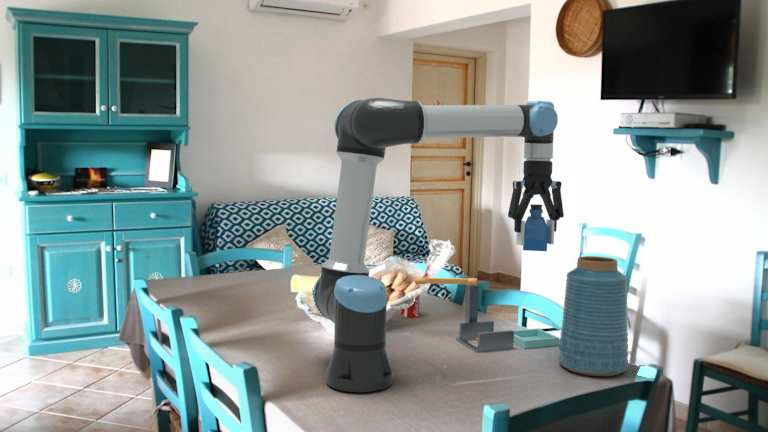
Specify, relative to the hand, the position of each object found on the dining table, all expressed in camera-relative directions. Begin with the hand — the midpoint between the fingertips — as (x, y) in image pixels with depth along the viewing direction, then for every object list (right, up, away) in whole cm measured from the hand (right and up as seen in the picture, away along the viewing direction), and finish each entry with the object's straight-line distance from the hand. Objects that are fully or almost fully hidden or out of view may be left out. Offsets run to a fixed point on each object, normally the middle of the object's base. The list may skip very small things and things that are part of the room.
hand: (535, 244), depth 189 cm
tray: (0, -27, +2) cm, 27 cm away
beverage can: (-33, -25, +28) cm, 50 cm away
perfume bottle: (0, -2, 0) cm, 2 cm away
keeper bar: (-23, -11, +7) cm, 27 cm away
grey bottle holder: (-15, -27, +2) cm, 31 cm away
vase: (+10, -30, -18) cm, 36 cm away
